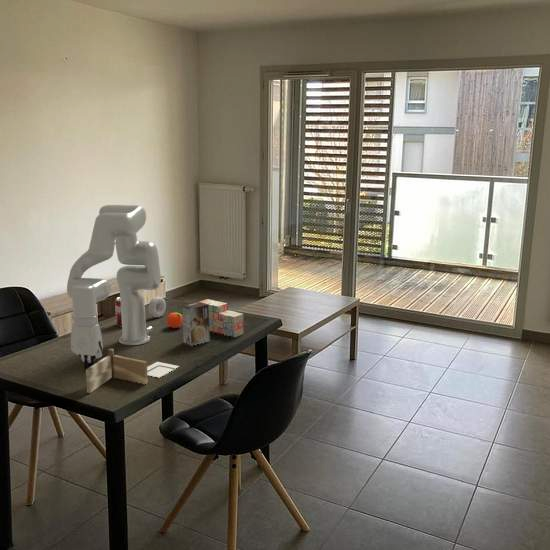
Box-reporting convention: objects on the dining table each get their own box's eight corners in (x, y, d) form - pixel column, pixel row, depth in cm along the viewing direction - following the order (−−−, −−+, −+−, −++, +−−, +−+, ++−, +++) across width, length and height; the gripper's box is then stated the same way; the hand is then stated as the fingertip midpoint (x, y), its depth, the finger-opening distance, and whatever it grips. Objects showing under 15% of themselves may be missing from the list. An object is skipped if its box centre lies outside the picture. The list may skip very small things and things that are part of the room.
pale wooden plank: (109, 376, 222) (107, 355, 220) (112, 377, 222) (110, 355, 220) (87, 392, 209) (85, 369, 207) (90, 392, 209) (88, 370, 207)
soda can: (126, 321, 287) (124, 296, 284) (136, 324, 282) (135, 298, 279) (113, 325, 281) (111, 299, 278) (123, 328, 277) (121, 302, 274)
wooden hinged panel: (112, 374, 224) (110, 348, 222) (148, 383, 217) (147, 355, 215) (108, 376, 223) (106, 350, 220) (145, 385, 215) (143, 357, 213)
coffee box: (201, 338, 264) (200, 301, 260) (210, 342, 259) (209, 304, 255) (182, 342, 258) (181, 305, 254) (191, 346, 253) (189, 308, 250)
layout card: (157, 362, 236) (157, 361, 236) (179, 367, 232) (179, 365, 231) (136, 373, 226) (136, 372, 226) (159, 378, 221) (159, 377, 221)
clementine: (187, 326, 280) (187, 310, 278) (181, 331, 273) (180, 315, 272) (170, 324, 282) (170, 309, 280) (164, 329, 275) (163, 313, 273)
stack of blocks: (243, 334, 269) (243, 306, 266) (233, 338, 264) (233, 310, 261) (208, 324, 282) (207, 298, 279) (198, 328, 277) (197, 301, 274)
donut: (162, 314, 298) (161, 293, 295) (167, 315, 296) (167, 294, 294) (147, 319, 290) (146, 298, 287) (152, 320, 288) (151, 299, 286)
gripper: (60, 321, 209) (64, 372, 213) (96, 326, 203) (100, 379, 208) (75, 315, 216) (79, 365, 220) (111, 320, 210) (114, 371, 214)
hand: (89, 371), depth 214 cm, fingers closed
